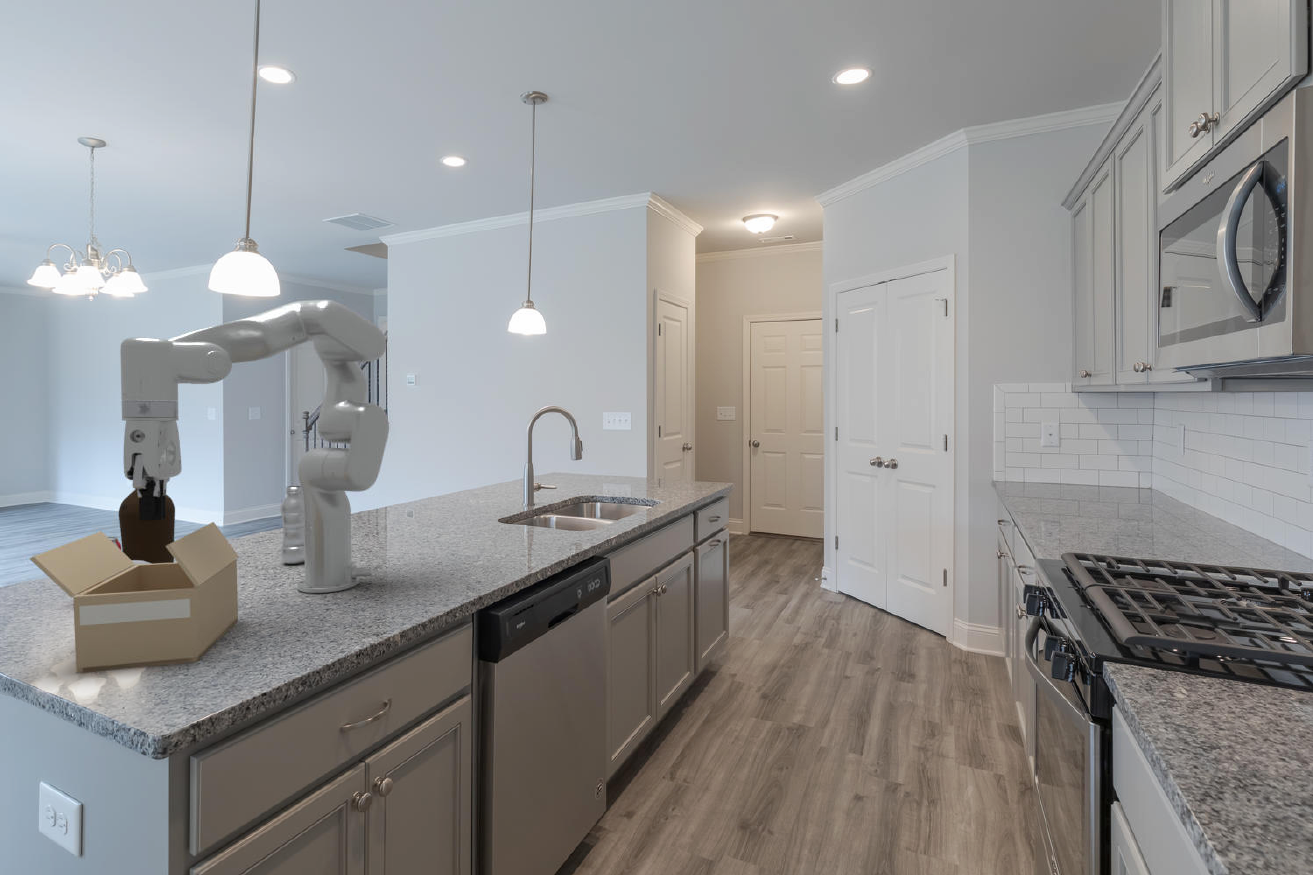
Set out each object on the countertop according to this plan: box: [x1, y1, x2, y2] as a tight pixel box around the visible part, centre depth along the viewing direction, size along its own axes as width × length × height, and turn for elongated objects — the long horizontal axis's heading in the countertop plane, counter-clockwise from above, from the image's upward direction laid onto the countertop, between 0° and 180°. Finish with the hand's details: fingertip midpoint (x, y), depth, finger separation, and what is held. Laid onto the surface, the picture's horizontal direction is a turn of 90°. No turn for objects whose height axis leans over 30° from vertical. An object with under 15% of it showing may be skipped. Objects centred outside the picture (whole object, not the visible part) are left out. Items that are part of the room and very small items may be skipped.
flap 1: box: [29, 530, 135, 598], centre depth 107 cm, size 8×19×1 cm
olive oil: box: [118, 488, 176, 564], centre depth 154 cm, size 11×11×25 cm
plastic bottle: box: [280, 485, 305, 565], centre depth 165 cm, size 6×7×20 cm
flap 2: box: [166, 521, 239, 587], centre depth 111 cm, size 8×19×1 cm
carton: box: [72, 558, 239, 674], centre depth 110 cm, size 16×20×12 cm
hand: (152, 519), depth 109 cm, fingers closed
